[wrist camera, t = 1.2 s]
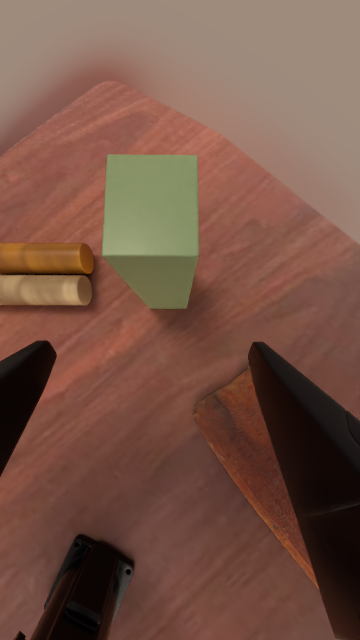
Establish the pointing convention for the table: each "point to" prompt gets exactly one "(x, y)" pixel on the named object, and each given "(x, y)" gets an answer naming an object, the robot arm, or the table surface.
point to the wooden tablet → (251, 459)
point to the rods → (45, 262)
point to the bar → (153, 225)
